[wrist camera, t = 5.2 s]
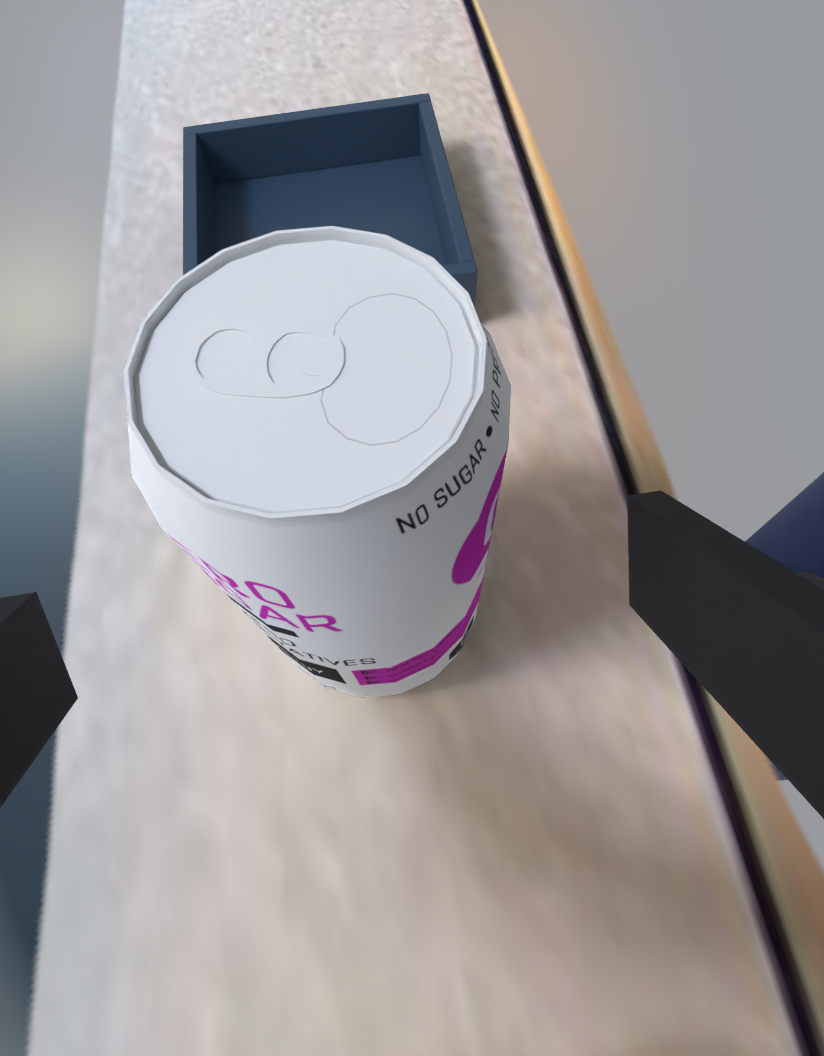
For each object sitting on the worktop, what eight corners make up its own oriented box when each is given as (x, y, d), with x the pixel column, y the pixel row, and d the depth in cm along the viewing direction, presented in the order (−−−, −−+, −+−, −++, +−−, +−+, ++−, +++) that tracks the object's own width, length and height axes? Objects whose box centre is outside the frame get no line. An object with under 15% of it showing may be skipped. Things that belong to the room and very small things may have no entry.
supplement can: (480, 515, 27) (523, 211, 13) (469, 711, 23) (511, 572, 10) (297, 503, 28) (158, 200, 14) (260, 691, 24) (28, 535, 10)
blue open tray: (473, 327, 31) (477, 270, 28) (209, 367, 31) (182, 314, 28) (429, 156, 37) (428, 92, 34) (205, 188, 36) (182, 126, 33)
